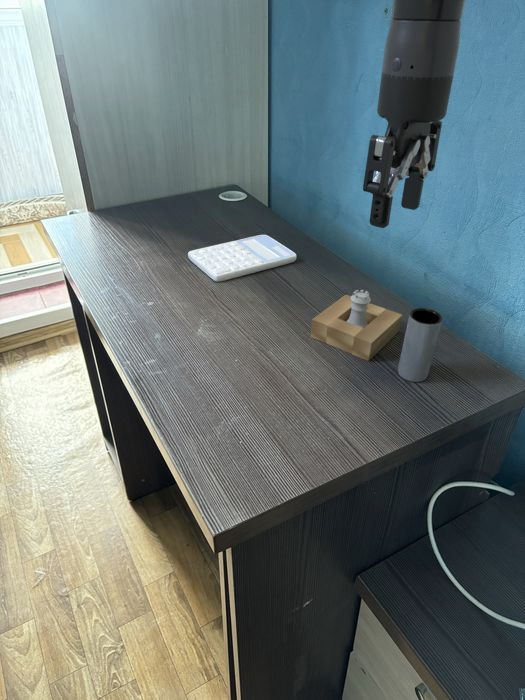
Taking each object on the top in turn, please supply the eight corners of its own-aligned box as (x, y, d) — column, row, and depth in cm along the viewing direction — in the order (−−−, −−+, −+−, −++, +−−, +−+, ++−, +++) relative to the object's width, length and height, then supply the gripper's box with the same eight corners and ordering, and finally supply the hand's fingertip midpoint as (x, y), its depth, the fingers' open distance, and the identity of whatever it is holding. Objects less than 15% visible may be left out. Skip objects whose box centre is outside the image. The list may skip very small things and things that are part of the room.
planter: (398, 380, 78) (410, 322, 72) (396, 362, 81) (408, 306, 75) (429, 384, 77) (444, 325, 71) (426, 366, 81) (440, 309, 75)
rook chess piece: (371, 331, 88) (378, 290, 84) (364, 345, 85) (371, 302, 81) (346, 325, 90) (352, 284, 85) (338, 338, 87) (343, 296, 82)
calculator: (186, 258, 110) (185, 250, 109) (265, 239, 119) (265, 232, 118) (215, 283, 101) (215, 275, 100) (298, 261, 110) (299, 253, 109)
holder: (398, 332, 89) (402, 314, 87) (368, 361, 81) (371, 343, 79) (343, 311, 94) (345, 294, 92) (310, 336, 87) (312, 319, 85)
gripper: (423, 78, 49) (396, 241, 58) (475, 67, 58) (446, 208, 67) (353, 72, 53) (339, 225, 62) (413, 62, 62) (393, 197, 71)
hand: (394, 216), depth 65 cm, fingers open, 8 cm apart
